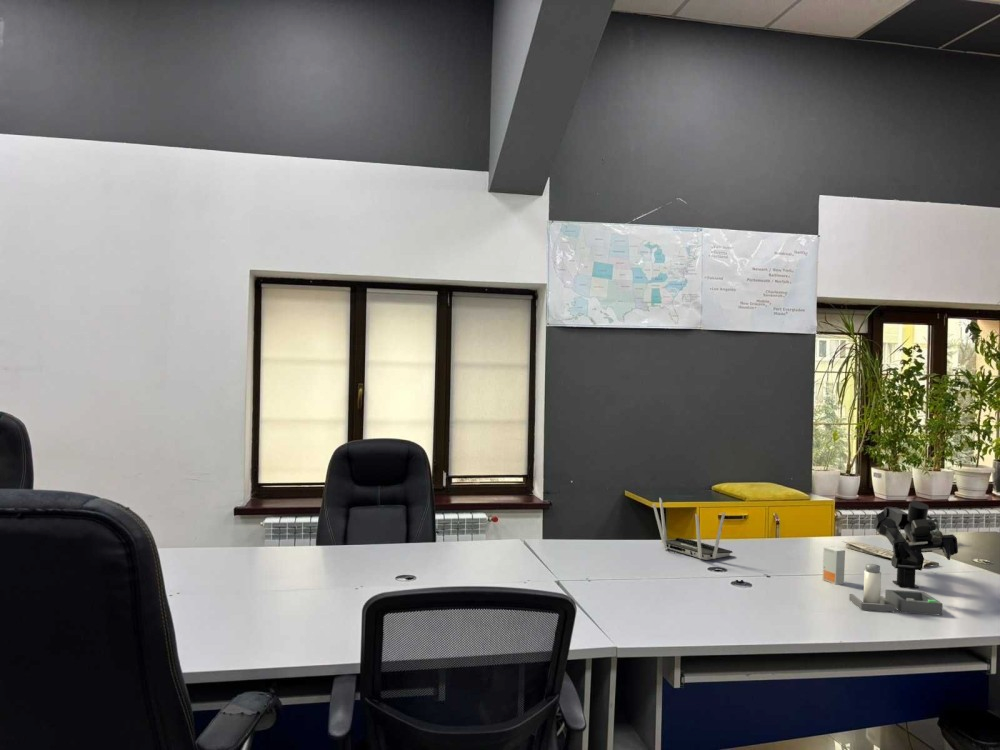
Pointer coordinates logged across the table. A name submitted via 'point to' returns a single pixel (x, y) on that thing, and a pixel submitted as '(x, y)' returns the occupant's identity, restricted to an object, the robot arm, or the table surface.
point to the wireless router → (689, 545)
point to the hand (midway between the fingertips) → (933, 559)
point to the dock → (914, 602)
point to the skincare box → (833, 565)
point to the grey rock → (934, 531)
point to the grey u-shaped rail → (873, 604)
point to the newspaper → (879, 551)
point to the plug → (872, 584)
